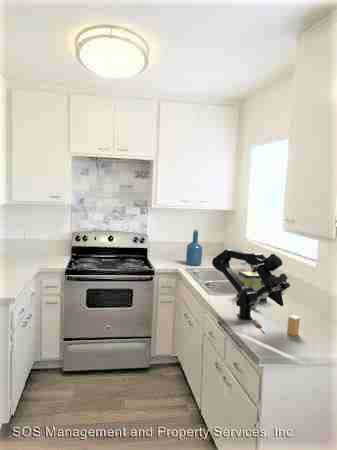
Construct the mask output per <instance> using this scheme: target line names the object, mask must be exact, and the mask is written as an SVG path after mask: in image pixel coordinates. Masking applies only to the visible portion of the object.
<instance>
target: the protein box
mask: <svg viewBox="0 0 337 450" xmlns="http://www.w3.org/2000/svg"><path fill="white" fill-rule="evenodd" d="M237 277H238V278H239V279H240V280H241V281H242V283H243V284H244V285H245V286H246V287H247V288H249V287H252V288H253V290H254V291H255V292H256V293H257V291H258V290H259V289H261V288H262V287H265V286H264V284H263V283H261V282H260V281H262V280H261V278H260V277H259V275H258V273H257V272H255V273H253V271H238V274H237ZM267 295H268V293H264V294H263V296H262V297H261V299H260V300H259V302H261V301H262V302H263V301H265V302H266V301H268V297H267ZM236 297H237V298H239V294H238V291H237V290H236ZM257 298H258V297H257Z"/></svg>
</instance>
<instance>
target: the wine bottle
mask: <svg viewBox="0 0 337 450" xmlns="http://www.w3.org/2000/svg"><path fill="white" fill-rule="evenodd" d="M192 236H193V237H192V242H190V243H189V244H187V245H186V256H185V263H186V265H188V266H192V267H198V266H199V267H200V266H202V259H203V247H202V245H201V244H199V231H198V229H194V230H193V234H192Z"/></svg>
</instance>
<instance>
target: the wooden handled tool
mask: <svg viewBox="0 0 337 450" xmlns="http://www.w3.org/2000/svg"><path fill="white" fill-rule="evenodd" d="M251 322H252V324H253V325H254V326H255V327H256V328H257V329H259V330H260V331H261V333H262V334H263V335H266V332H264V330H263V329H262V328H263V326H262V325H261V324H260V323H259V322H258V321H257V320H256V319H252V321H251Z"/></svg>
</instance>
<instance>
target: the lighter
mask: <svg viewBox="0 0 337 450" xmlns="http://www.w3.org/2000/svg"><path fill="white" fill-rule="evenodd" d="M260 299H261V297H258V300H257V302H256V303H255V305H254V306H251V310H252V309H253V310H255V309H256V307H257V306H256V305H257V304H258V303H259V302H260V301H259V300H260Z"/></svg>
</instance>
